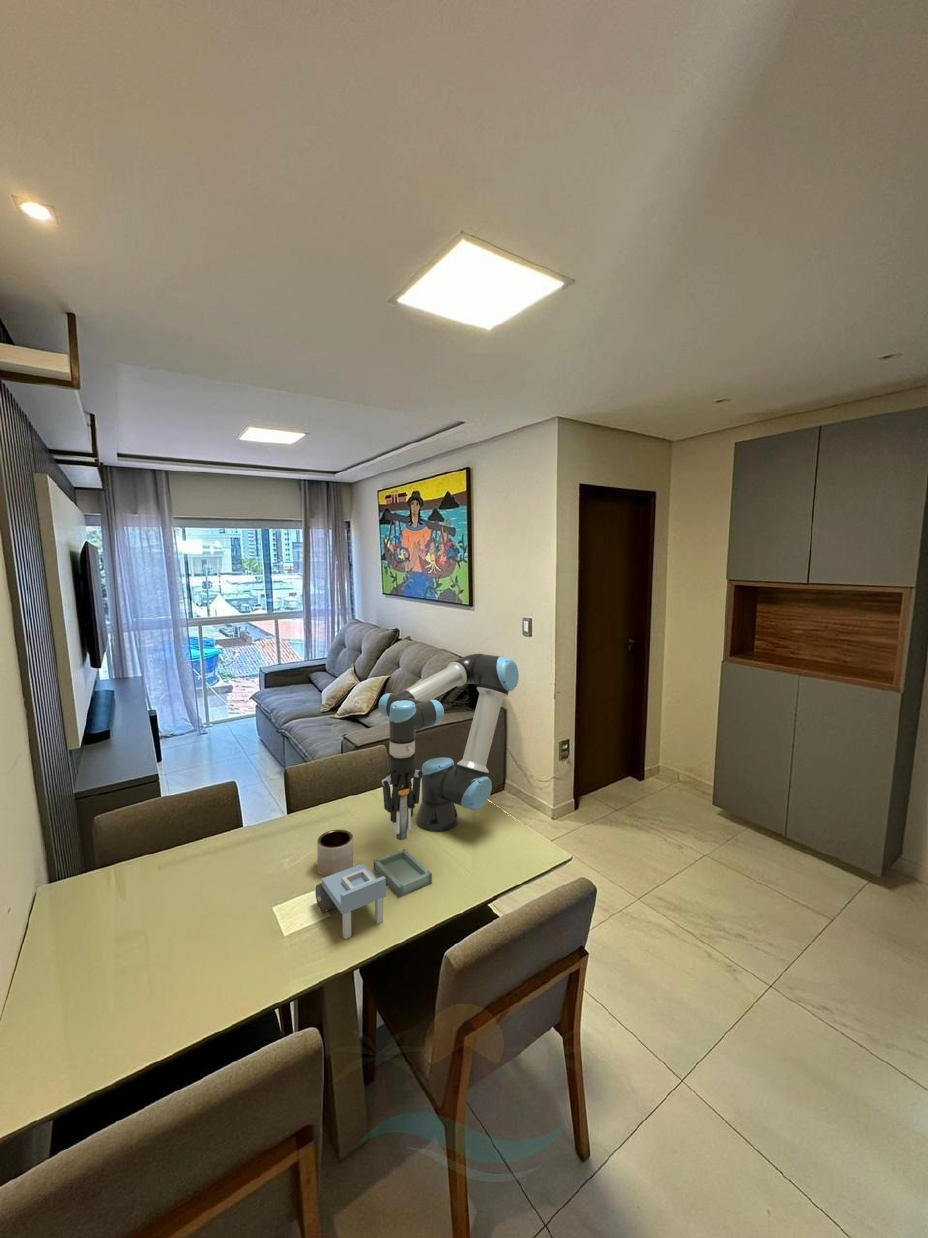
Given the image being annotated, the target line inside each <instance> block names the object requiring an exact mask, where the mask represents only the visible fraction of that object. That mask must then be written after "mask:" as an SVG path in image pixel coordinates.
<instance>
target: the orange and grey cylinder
mask: <svg viewBox="0 0 928 1238" xmlns="http://www.w3.org/2000/svg"><path fill="white" fill-rule="evenodd" d="M409 793H410V787H409V788H407V787H406V786H405V785H402V788H401V790H399V791H398V796H399V802H398V809H397V811H399V812H400V831H399V834H397V833H396V832H395V834H396V837H395V838H396V840H398V841H404V840H405V841H406V840H407V839H408V829H407V795H408V794H409Z"/></svg>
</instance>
